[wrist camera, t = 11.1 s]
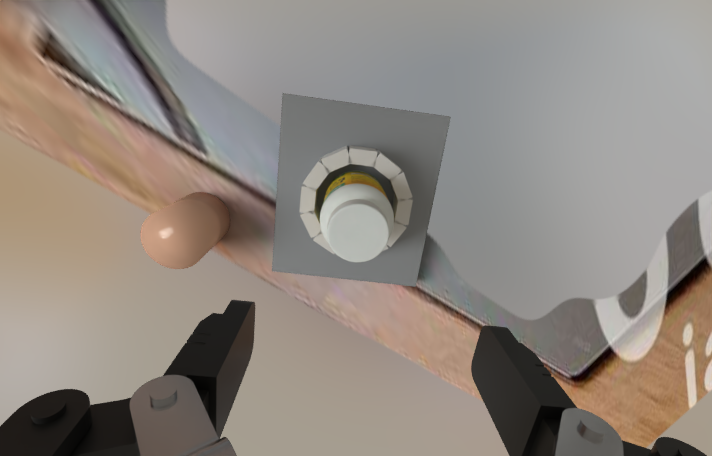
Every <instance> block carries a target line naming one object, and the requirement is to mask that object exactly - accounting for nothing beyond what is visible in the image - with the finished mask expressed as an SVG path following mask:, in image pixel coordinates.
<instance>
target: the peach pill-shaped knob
mask: <svg viewBox="0 0 712 456" xmlns="http://www.w3.org/2000/svg"><path fill="white" fill-rule="evenodd" d="M229 226H230V215H229V212H228V210H227V208H226V206H225V205H224V203H223V202H222V201H221V200H220V199H218V198H217V197H215V196H213V195H211V194H208V193H204V192H196V193H192V194H189V195H187V196H185V197H183V198H181V199H180V200H178V201H176V202H174V203H172V204H170V205H168V206H166V207H164V208H162V209H160V210H158V211H156V212H154V213H152V214H151V215H150V216H148V217H147V219H146V220H145V221H144V223H143V225H142V228H141V241H142V245H143V247H144V249H145V251H146V252H147V254H148V255H149V256H150V257H151V258H152V259H153V260H154V261H156V262H157V263H159V264H160V265H162V266H165V267H168V268H173V269H184V268H188V267H191V266H193V265H194V264H196V263H197V262H198V261H199V260H200V259H201V258H202V257H203V256H204V255H205V254H206V253H207V252H208V251H209V250H210V249H211V248H212V247H213V246H214V245H215V244H216V243H217V242H218V241H219V240H220V239H221V238H222V237H223V236H224V235H225V234H226V233H227V231H228V229H229Z"/></svg>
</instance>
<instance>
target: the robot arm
mask: <svg viewBox="0 0 712 456" xmlns="http://www.w3.org/2000/svg"><path fill="white" fill-rule="evenodd" d="M254 322H255V303H254V302H249V301H238V300H232V301H231V302H230V304H229V305H228V307H227V308H226V310H225V312H224V313H223V314H216V313H213V314H211V315H210V316H208V317H207V318H205V319H204V320H202V321H201V322H200V323H199V324H198V326H197V327H196V329H195V330H194V332H193V334H192V335H191V336H190V337H189V339H188V340H187V343H185V345H184V346H183V348H182V349H181V350H180V352H179V353H178V355H177V356H176V358H175V359H174V361H173V362H172V364H171V365H170V366H169V368H168V369H167V371H166V372H165V374H164V375H163V376H162V377H158V378H155V379H153V380H151V381H149V382H147V383H145V384H144V385H142V386H141V387H140V388H139V389H138V390H137V391H136V392H135V393H134V394H133V396H132V397H131V398H128V399H124V400H119V401H113V402H107V403H100V404H94V405H90V401H89V397H88V395H86V393H84V392H82V391H80V390H75V389H64V390H58V391H53V392H50V393H47V394H44V395H41V396H39V397H37V398H35V399H33V400H31V401H29V402H27V403H26V404H24V405H23V406H22V407H20V408H19V409H18V410H17V411H16V412H14V413H13V414H12V415H11V416H10V417H9V418H8V419H7V420H6V421H5V422H4V423H3V424H2V425H1V426H0V456H237V455H236V453H235V451H234V449H233V447H232V445H231V443H230V441H229V440H228V439H227V438H226V437H223V438H222V439H220V436H221V434H222V431H223V429H224V426H225V423H226V421H227V418H228V416H229V413H230V410H231V408H232V405H233V403H234V400H235V397H236V395H237V392H238V390H239V387H240V384H241V382H242V379H243V377H244V374H245V371H246V368H247V366H248V364H249V361H250V358H251V354H252V349H253V343H254ZM471 370H472V377H473V380H474V382H475V384H476V386H477V388H478V390H479V393H480V395H481V397H482V399H483V401H484V403H485V405H486V407H487V409H488V411H489V414H490V415H491V418H492V420H493V422H494V424H495V426H496V428H497V430H498V432H499V435H500V437H501V439H502V441H503V443H504V445H505V447H506V449H507V451H508V453H509V455H510V456H707V455H705V454H704V453H702V452H701V451H699V450H698V449H696V448H694V447H692V446H691V445H689V444H686V443H684V442H682V441H680V440H677V439H674V438H669V437H661V438H658V439H657V440H656V442H655V444H654V446H653V448H652V450H650V449H647V448H644V447H641V446H638V445H635V444H632V443H629V442H625V441H622V440H621V438H620V436H619V434H618V433H617V432H616V431H615V430H614V429H613V428H612V427H611V426H610V425H609V424H608V423H607V422H605V421H604V420H603V419H601V418H600V417H598V416H596V415H595V414H593V413H590V412H588V411H585V410H583V409H578V408H577V407H576V406H575V404H574V403H573V402H572V400H571V399H570V398H569V397H568V395H567V394H566V393H565V391H564V390H563V389H562V388H561V386H560V385H559V384H558V383H557V381H556V380H555V379H554V377H551V374H550V372H549V371H548V370H547V368H546V367H544V365H543V363H542V362H541V361H540V359H539V358H538V357H537V356H536V354H535V353H533V352H532V351H531V350H530V349H528V348H527V347H526V346H524V345H523V344H522V343H519V342H518V341H517V340H516V338H515V337H514V336H513V334H512V333H511V332H510V330H509V329H508V328H506V327H497V326H483V328H482V329H481V332H480V335H479V339H478V342H477V346H476V349H475V353H474V356H473V360H472V366H471Z"/></svg>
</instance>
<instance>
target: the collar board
mask: <svg viewBox="0 0 712 456" xmlns="http://www.w3.org/2000/svg"><path fill="white" fill-rule="evenodd" d="M449 121H450V117H449V116H441V115H435V114H427V113H420V112H413V111H406V110H398V109H392V108H384V107H377V106H369V105H363V104H356V103H349V102H341V101H334V100H327V99H319V98H313V97H306V96H298V95H291V94H284V93H283V98H282V114H281V130H280V147H279V163H278V180H277V197H276V213H275V230H274V247H273V263H272V271H276V272H285V273H294V274H304V275H313V276H322V277H332V278H341V279H350V280H360V281H369V282H378V283H387V284H397V285H406V286H415V287H416V282H417V277H418V272H419V268H420V263H421V258H422V253H423V248H424V243H425V239H426V234H427V229H428V224H429V219H430V214H431V209H432V205H433V199H434V195H435V190H436V185H437V180H438V175H439V171H440V166H441V161H442V156H443V151H444V146H445V141H446V136H447V132H448V127H449ZM356 170H357V171H363V172H366V173H368V174H370V175H372V176H373V177H375V178H376V179H377V180H378V182H379V183H380V184H381V186H382V188H383V190H384V192H385V194H386V196H387V198H388V200H389V202H390V204H391V207H392V209H393V214H394V226H393V230H392V233H391V236H390V237H389V239H388V242H387V245H386V246H385V248H384V250H383V251H382V252H381V253H380V254H379V255H378V256H377V257H375V258H373V259H371V260H369V261H366V262H350V261H347V260H344V259H342V258H341V257H339V256H338V255H337V254H336V253H335V252H334V251H333V250H332V249H331V247H330V245H329V244H328V242H327V241H326V240H325V238H324V236H323V234H322V231H321V227H320V212H321V208H322V205H323V202H324V198H325V194H326V191H327V189H328V187H329V185H330V183H331V182H332V181H333V180H334V179H335V178H336V177H337V176H339V175H340V174H342V173H345V172H348V171H356Z"/></svg>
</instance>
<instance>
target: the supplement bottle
mask: <svg viewBox="0 0 712 456" xmlns="http://www.w3.org/2000/svg"><path fill="white" fill-rule="evenodd" d="M393 226H394V214H393V209H392V207H391V204H390V202H389V200H388V198H387V196H386V194H385V192H384V190H383V188H382V186H381V184H380V183H379V182H378V180H377V179H376V178H375V177H373V176H372V175H370V174H368V173H366V172H363V171H357V170H356V171H348V172H345V173H342V174H340V175H339V176H337V177H336V178H335V179H334V180H333V181H332V182H331V183H330V185H329V187H328V189H327V191H326V194H325V198H324V202H323V205H322V208H321V212H320V227H321V231H322V234H323V236H324V238H325V240H326V241H327V242H328V244H329V245H330V247H331V249H332V250H333V251H334V252H335V253H336V254H337V255H338V256H339V257H341V258H342V259H344V260H347V261H350V262H366V261H369V260H371V259H373V258H375V257H377V256H378V255H379V254H380V253H381V252H382V251H383V250H384V248H385V246H386V245H387V242H388V239H389V237H390V236H391V233H392V230H393Z"/></svg>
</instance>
